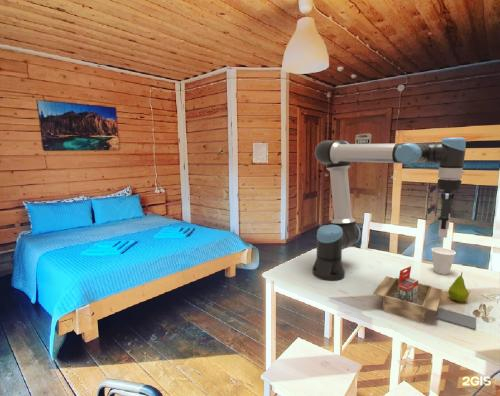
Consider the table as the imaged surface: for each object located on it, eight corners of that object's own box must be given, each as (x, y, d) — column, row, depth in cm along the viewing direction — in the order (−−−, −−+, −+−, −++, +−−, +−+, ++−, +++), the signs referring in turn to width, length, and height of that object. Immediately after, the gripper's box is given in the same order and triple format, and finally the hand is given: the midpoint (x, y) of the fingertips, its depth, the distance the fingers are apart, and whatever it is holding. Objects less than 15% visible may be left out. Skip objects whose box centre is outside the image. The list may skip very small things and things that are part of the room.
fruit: (446, 300, 115) (449, 272, 113) (449, 294, 119) (451, 267, 118) (466, 306, 111) (469, 276, 109) (468, 299, 115) (471, 271, 113)
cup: (458, 274, 139) (460, 252, 137) (445, 278, 134) (448, 255, 132) (437, 266, 147) (439, 246, 146) (424, 270, 143) (426, 249, 141)
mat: (436, 318, 103) (436, 317, 103) (438, 309, 109) (439, 307, 109) (475, 330, 96) (475, 328, 96) (475, 319, 102) (476, 317, 102)
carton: (372, 307, 111) (373, 292, 110) (385, 288, 126) (386, 275, 125) (434, 326, 98) (436, 310, 97) (441, 303, 113) (442, 288, 112)
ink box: (417, 304, 113) (420, 268, 110) (406, 310, 108) (409, 273, 106) (407, 300, 116) (410, 265, 113) (396, 306, 111) (399, 270, 109)
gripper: (461, 182, 98) (453, 242, 102) (462, 176, 118) (456, 227, 122) (435, 181, 103) (429, 239, 106) (440, 175, 122) (435, 224, 126)
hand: (443, 232), depth 114 cm, fingers open, 13 cm apart
